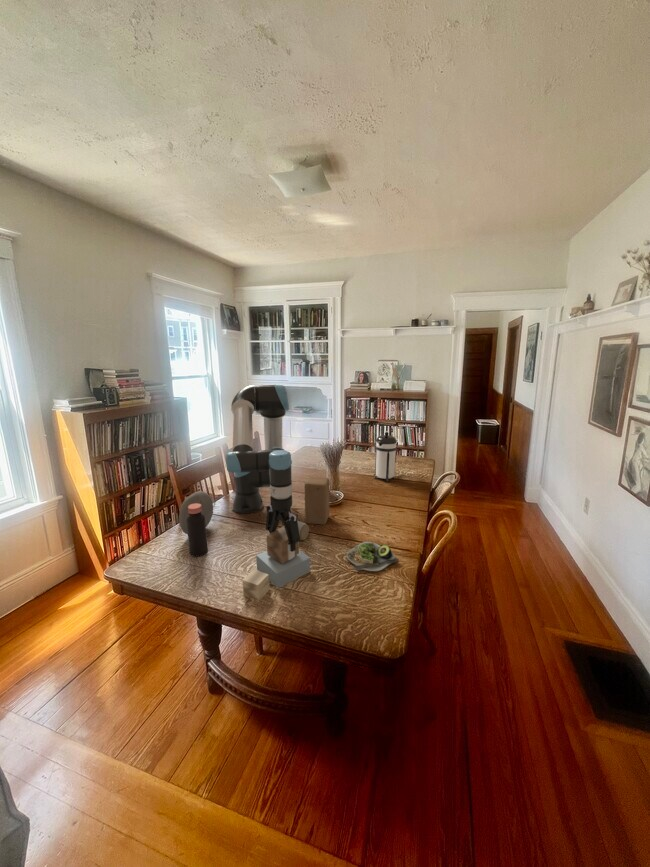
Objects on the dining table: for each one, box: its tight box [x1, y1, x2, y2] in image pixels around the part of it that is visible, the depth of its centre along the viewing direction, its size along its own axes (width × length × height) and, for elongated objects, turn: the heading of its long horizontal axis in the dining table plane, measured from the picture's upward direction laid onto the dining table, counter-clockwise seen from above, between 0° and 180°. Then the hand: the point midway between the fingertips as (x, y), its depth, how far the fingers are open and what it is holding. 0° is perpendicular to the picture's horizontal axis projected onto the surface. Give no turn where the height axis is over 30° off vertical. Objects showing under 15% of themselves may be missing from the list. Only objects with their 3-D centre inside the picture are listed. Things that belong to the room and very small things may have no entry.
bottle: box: [186, 503, 209, 558], centre depth 133 cm, size 7×7×20 cm
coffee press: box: [372, 431, 398, 483], centre depth 213 cm, size 17×16×30 cm
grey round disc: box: [178, 490, 214, 536], centre depth 148 cm, size 18×7×19 cm, turn 156°
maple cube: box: [242, 569, 270, 602], centre depth 112 cm, size 6×6×6 cm
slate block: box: [255, 549, 311, 589], centre depth 124 cm, size 14×14×6 cm
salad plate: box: [346, 541, 400, 572], centre depth 130 cm, size 19×18×5 cm
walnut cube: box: [266, 526, 300, 564], centre depth 122 cm, size 8×8×8 cm
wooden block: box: [304, 476, 330, 526], centre depth 160 cm, size 10×10×20 cm
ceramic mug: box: [297, 520, 310, 541], centre depth 147 cm, size 11×8×8 cm
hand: (282, 553), depth 123 cm, fingers closed on walnut cube, 8 cm apart
